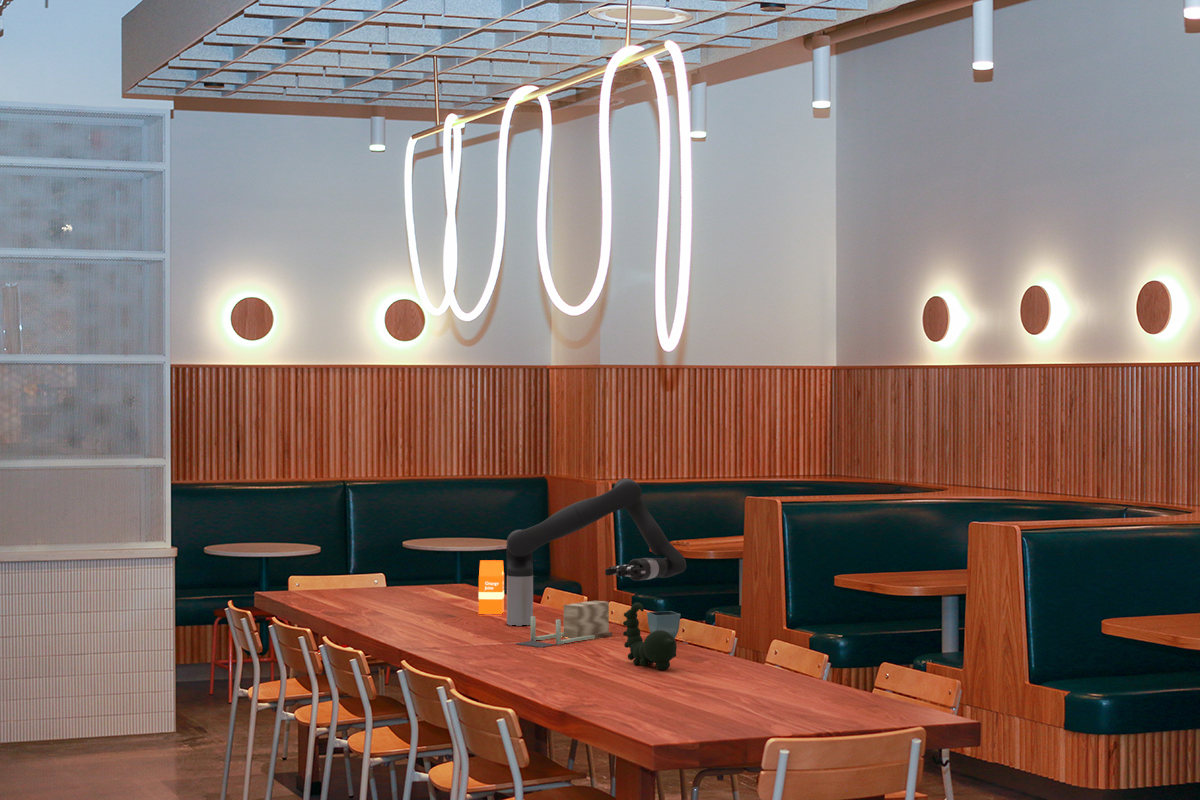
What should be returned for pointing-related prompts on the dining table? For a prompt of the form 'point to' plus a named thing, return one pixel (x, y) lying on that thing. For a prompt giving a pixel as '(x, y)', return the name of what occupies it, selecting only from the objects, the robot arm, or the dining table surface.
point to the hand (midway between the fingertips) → (612, 572)
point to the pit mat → (535, 644)
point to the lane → (603, 634)
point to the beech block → (586, 618)
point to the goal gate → (557, 635)
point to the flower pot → (664, 622)
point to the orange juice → (491, 587)
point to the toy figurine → (648, 642)
